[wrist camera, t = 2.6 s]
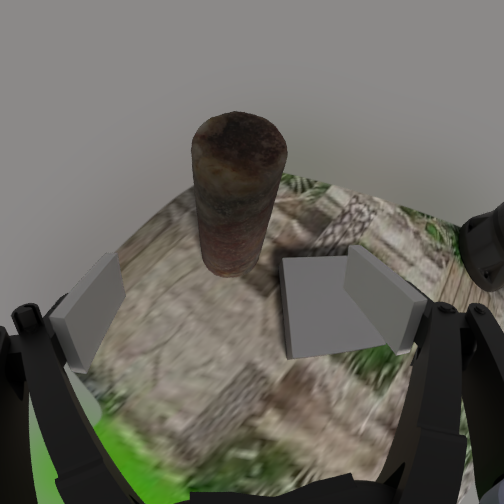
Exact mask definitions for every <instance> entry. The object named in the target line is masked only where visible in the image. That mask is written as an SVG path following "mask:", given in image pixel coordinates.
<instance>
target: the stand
mask: <svg viewBox="0 0 504 504" xmlns="http://www.w3.org/2000/svg"><path fill="white" fill-rule="evenodd" d="M347 257H348V256H325V257H296V258H282V260H281V262H280V264H279V267H278V268H279V278H280V287H281V297H282V307H283V317H284V328H285V338H286V350H287V360H290V359H300V358H308V357H317V356H324V355H331V354H338V353H345V352H351V351H357V350H362V349H368V348H373V347H378V346H382V345H385V344H386V341H385V340H384V339H383V337H382V336H381V335H380V333H379V332H378V331H377V329H376V328H375V327H374V326H373V324H372V323H371V322H370V321H369V319H368V318H367V317H366V315H365V314H364V313H363V312H362V310H361V309H360V308H359V307H358V305H357V304H356V303H355V302H354V301H353V299H352V298H351V297H350V296H349V294H348V293H347V292H346V291H345V289H344V288H343V285H344V278H345V272H346V265H347Z"/></svg>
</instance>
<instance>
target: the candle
mask: <svg viewBox="0 0 504 504" xmlns="http://www.w3.org/2000/svg"><path fill="white" fill-rule="evenodd" d="M191 153H192V169H193V179H194V188H195V197H196V207H197V216H198V224H199V235H200V243H201V251H202V257H203V261H204V263H205V265H206V267H207V268H208V270H210V271H211V272H212V273H213V274H215V275H217V276H220V277H225V278H228V277H239V276H242V275H245V274H247V273H249V272H250V271H251V270H252V269H253V268H254V266H255V265H256V263H257V261H258V259H259V255H260V252H261V249H262V245H263V242H264V238H265V234H266V230H267V227H268V223H269V220H270V217H271V213H272V209H273V205H274V202H275V198H276V195H277V191H278V188H279V184H280V180H281V176H282V173H283V170H284V167H285V163H286V159H287V153H288V152H287V146H286V142H285V140H284V138H283V136H282V135H281V133H280V132H279V131H278V129H277V128H276V127H275V126H274V125H273V124H272V123H271V122H269V121H268V120H267V119H265V118H263V117H259V116H256V115H253V114H248V113H245V112H237V111H233V112H230V113H225V114H222V115H219V116H216V117H212V118H210V119H208V120H207V121H206V122H205V123H203V124H202V125H201V126H200V127H199V128H198V130H197V132H196V134H195V136H194V137H193V140H192V148H191Z"/></svg>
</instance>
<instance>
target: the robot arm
mask: <svg viewBox="0 0 504 504" xmlns="http://www.w3.org/2000/svg"><path fill="white" fill-rule="evenodd" d="M459 246H460V252H461V256H462V259H463V262H464V264H465V267H466V269H467V271H468V273H469V275H470V276H471V278H472V279H473V280H474V282H475V283H476V284H477V285H478V286H479V287H480V288H481V289H483V290H485V291H487V292H494V291H496V290H498V289H500V288H502V287H503V286H504V202H503V203H502V204H501V205H500V206H498V207H497V208H496V209H495V210H494V211H491V212H488V213H485V214H482V215H478V216H475V217H472V218H471V219H469V220H468V221H467V222H466V223H465V224H463V226H462V227H461V229H460V233H459ZM343 288H344V289H345V291H346V292H347V293H348V294H349V296H350V297H351V298H352V299H353V301H354V302H355V303H356V304H357V305H358V307H359V308H360V309H361V310H362V312H363V313H364V314H365V315H366V317H367V318H368V319H369V321H370V322H371V323H372V324H373V326H374V327H375V328H376V329H377V331H378V332H379V333H380V335H381V336H382V337H383V339H384V340H385V341H386V342H387V344H388V345H389V346H390V348H391V349H392V350H393V352H394V353H395V354H396V356H397V355H401V354H405V353H409V352H410V350H411V347H412V345H413V342H415V343H416V344H417V345H418V348H417V350H416V353H415V355H414V358H413V360H412V362H411V365H410V366H413V368H412V373H411V378H410V382H409V387H408V391H407V395H406V399H405V403H404V406H403V410H402V414H401V417H400V420H399V424H398V427H397V430H396V433H395V436H394V439H393V442H392V445H391V448H390V451H389V454H388V456H387V459H386V462H385V464H384V467H383V469H382V471H381V473H380V475H379V477H378V478H377V480H376V481H375V482H374V481H366V480H354V479H353V477H352V474H351V473H347V474H344V475H340V476H336V477H332V478H328V479H324V480H319V481H314V482H312V483H310V484H308V485H305V486H303V487H300V488H298V489H296V490H293V491H290V492H288V493H285V494H282V495H280V496H276V497H267V496H257V495H249V494H242V493H235V492H190V500H187V501H182V502H178V503H175V504H457V500H458V496H459V491H460V486H461V481H462V476H463V470H464V464H465V457H466V449H467V438H466V436H465V435H459V427H460V415H461V397H462V399H463V403H464V408H465V413H466V418H467V423H468V429H469V435H470V441H471V448H472V456H473V465H474V476H475V485H476V490H477V495H478V499H479V504H504V333H503V331H502V329H501V328H500V326H499V324H498V323H497V321H496V319H495V318H494V316H493V315H492V313H491V311H490V310H489V309H488V308H487V307H485V305H483V304H480V303H479V304H478V303H471V304H469V306H468V309H467V312H466V313H458V311H457V309H456V308H455V307H454V306H452V305H451V304H448V303H445V302H435V303H434V302H433V301H432V300H431V299H430V298H429V297H427V296H426V295H425V294H424V293H423V292H422V293H421V291H420V290H419V289H417V287H415V286H414V285H413V284H412V283H410V282H408V281H406V280H404V279H403V278H401V277H400V276H399V275H398V274H397V273H395V272H394V271H393V270H392V269H390V268H389V267H388V266H387V265H385V264H384V263H383V262H382V261H380V260H379V259H378V258H377V257H375V256H374V255H373V254H371V253H370V252H369V251H368V250H366V249H365V248H364V247H362V246H361V245H349V250H348V257H347V265H346V272H345V278H344V285H343ZM125 297H126V296H125V291H124V286H123V281H122V276H121V270H120V265H119V259H118V253H105V254H104V255H103V256H102V257H101V259H100V260H98V262H97V263H96V264H95V265H94V266H93V267H92V268H91V269H90V270H89V271H88V272H87V273H86V274H85V276H84V277H83V278H82V279H81V280H80V281H79V282H78V283H77V284H76V286H75V287H74V288H73V289H72V290H71V291H70V292H69V293H67V294H65V295H63V296H62V297H60V298H59V300H58V301H57V302H56V303H55V305H53V307H52V308H51V309H50V310H49V311H48V312H47V314H46V315H45V316H44V317H43V318H42V315H41V312H40V310H39V307H38V305H37V304H34V303H28V304H24V305H22V306H19V307H18V308H17V309H15V310H14V311H13V313H12V315H11V317H12V319H13V322H14V324H15V327H16V329H17V331H18V334H19V335H12V336H9V335H8V333H7V331H6V329H5V327H3V326H0V504H38V502H37V497H36V491H35V486H34V480H33V473H32V464H31V454H30V441H29V393H30V397H31V401H32V405H33V408H34V412H35V415H36V418H37V421H38V424H39V428H40V430H41V433H42V436H43V439H44V442H45V445H46V447H47V450H48V453H49V455H50V457H51V460H52V462H53V465H54V467H55V469H56V471H57V474H58V478H57V479H55V484H56V487H57V489H58V492H59V493H60V496H61V498H62V499H63V502H64V503H65V504H145V503H144V502H143V501H142V500H141V499H140V497H139V496H138V495H137V494H136V493H135V491H134V490H133V489H132V487H131V486H130V485H129V483H128V482H127V481H126V479H125V478H124V477H123V475H122V474H121V472H120V471H119V469H118V468H117V466H116V465H115V464H114V462H113V460H112V459H111V457H110V456H109V454H108V453H107V451H106V450H105V448H104V446H103V445H102V443H101V441H100V440H99V438H98V436H97V434H96V433H95V431H94V429H93V427H92V426H91V424H90V422H89V420H88V418H87V416H86V415H85V413H84V411H83V408H82V406H81V405H80V402H79V400H78V398H77V397H76V394H75V392H74V390H73V388H72V385H71V383H70V381H69V378H68V376H67V374H66V372H65V370H64V365H65V364H66V362H68V365H69V367H70V369H71V371H72V372H78V373H86V374H87V371H88V369H89V367H90V365H91V363H92V361H93V359H94V356H95V354H96V352H97V350H98V348H99V346H100V344H101V342H102V340H103V338H104V336H105V334H106V332H107V330H108V328H109V326H110V324H111V323H112V321H113V319H114V317H115V315H116V313H117V311H118V309H119V308H120V306H121V304H122V302H123V300H124V298H125Z"/></svg>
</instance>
